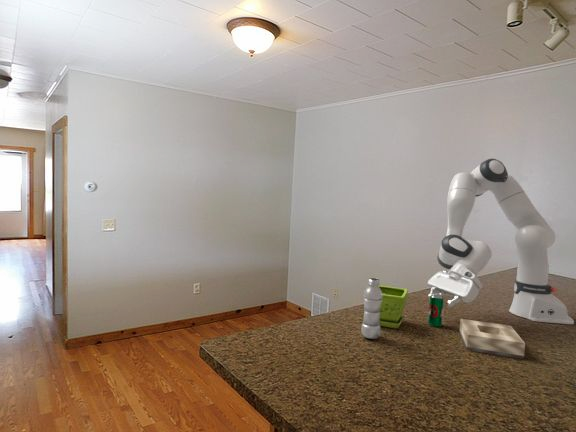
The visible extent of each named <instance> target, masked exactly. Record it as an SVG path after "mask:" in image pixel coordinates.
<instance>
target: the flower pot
mask: <svg viewBox="0 0 576 432" xmlns="http://www.w3.org/2000/svg"><path fill="white" fill-rule="evenodd" d="M379 288H380V290H381V292H382V294H383V299H382V303H381V309H380V327H386V328H391V329H398V328H399V327H400V325H401V324H402V322H403V320H404V317H405V315H404V314H403V312H404V310H405V306H406V304H407V298H408V293H409V292H408V291H409V290H408V289H407V288H402V287H401V288H400V287H396V286H395V287H394V286H386V285H379Z"/></svg>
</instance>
